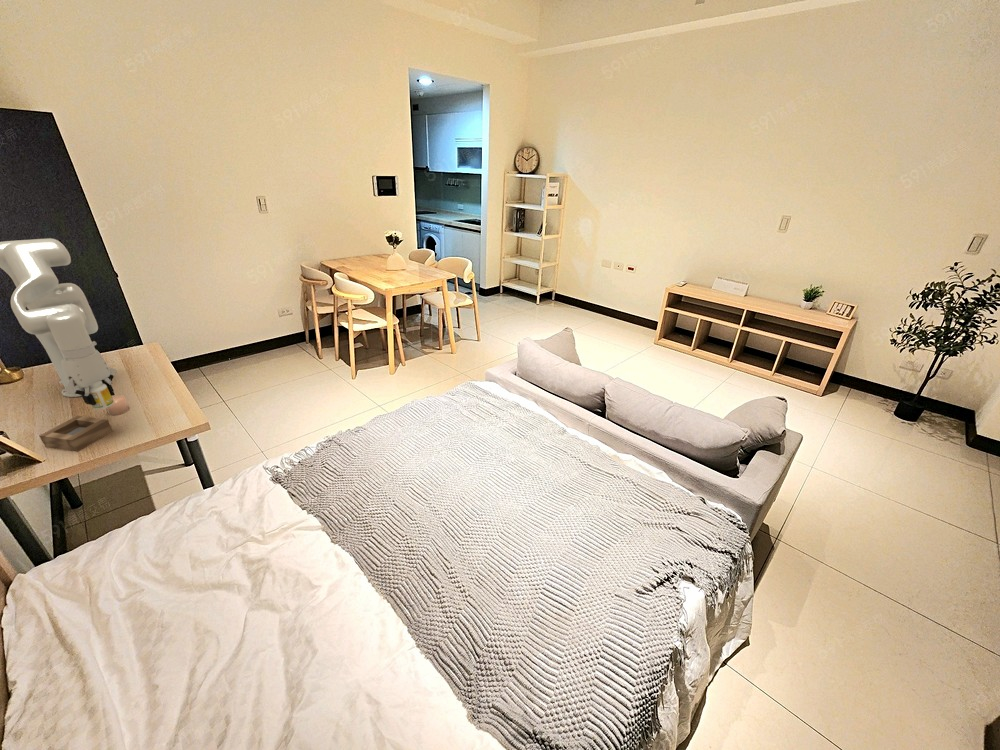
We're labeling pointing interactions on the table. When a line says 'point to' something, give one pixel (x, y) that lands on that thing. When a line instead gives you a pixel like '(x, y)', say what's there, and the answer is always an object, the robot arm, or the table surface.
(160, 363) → the table surface
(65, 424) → the base block
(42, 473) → the table surface
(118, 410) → the peach rounded lump
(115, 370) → the robot arm
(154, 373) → the table surface
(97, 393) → the supplement bottle
